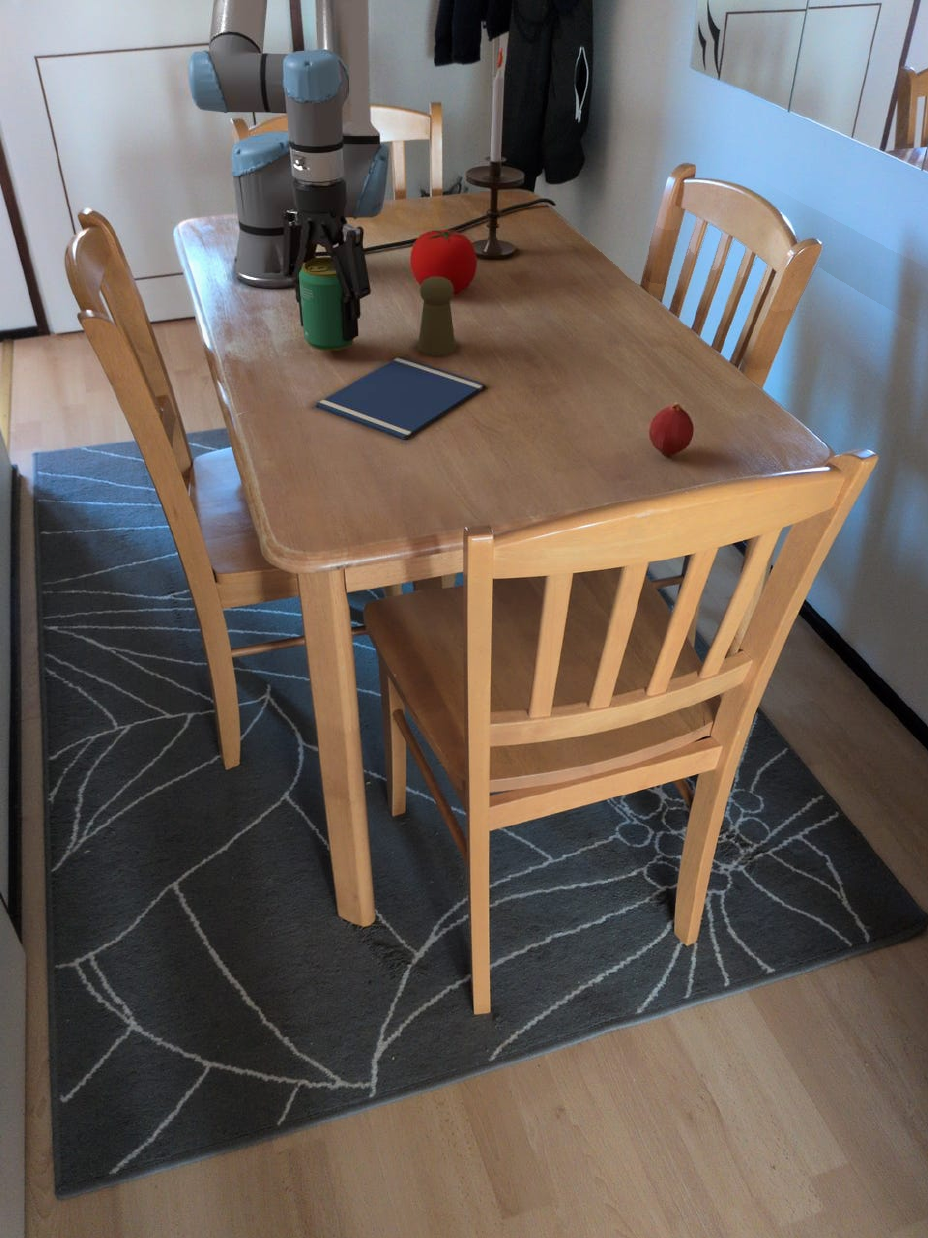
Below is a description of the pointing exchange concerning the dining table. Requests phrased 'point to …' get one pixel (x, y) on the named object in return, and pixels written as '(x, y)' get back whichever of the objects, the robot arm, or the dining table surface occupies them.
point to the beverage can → (322, 305)
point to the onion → (671, 430)
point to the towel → (400, 397)
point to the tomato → (444, 258)
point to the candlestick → (495, 179)
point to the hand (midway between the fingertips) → (329, 330)
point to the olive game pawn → (436, 317)
